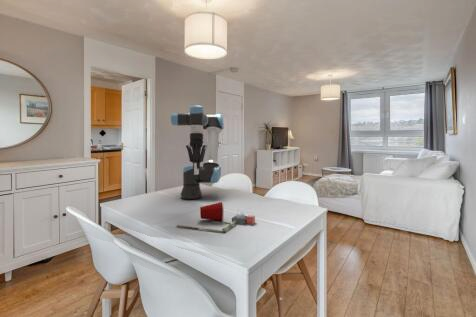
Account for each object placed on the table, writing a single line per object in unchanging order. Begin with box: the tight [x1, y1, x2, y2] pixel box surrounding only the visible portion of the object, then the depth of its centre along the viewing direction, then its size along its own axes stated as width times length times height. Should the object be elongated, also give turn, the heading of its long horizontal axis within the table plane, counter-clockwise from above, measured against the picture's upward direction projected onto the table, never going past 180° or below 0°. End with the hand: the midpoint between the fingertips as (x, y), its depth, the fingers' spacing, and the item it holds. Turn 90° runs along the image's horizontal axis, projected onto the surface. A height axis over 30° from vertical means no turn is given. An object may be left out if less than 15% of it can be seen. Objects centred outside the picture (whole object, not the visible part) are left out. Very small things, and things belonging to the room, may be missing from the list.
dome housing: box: [231, 214, 256, 227], centre depth 126 cm, size 7×11×4 cm, turn 69°
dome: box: [235, 212, 246, 219], centre depth 127 cm, size 5×5×5 cm
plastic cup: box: [199, 200, 225, 222], centre depth 128 cm, size 11×11×12 cm
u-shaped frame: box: [175, 219, 237, 234], centre depth 121 cm, size 15×25×2 cm, turn 69°
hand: (196, 174), depth 140 cm, fingers closed
